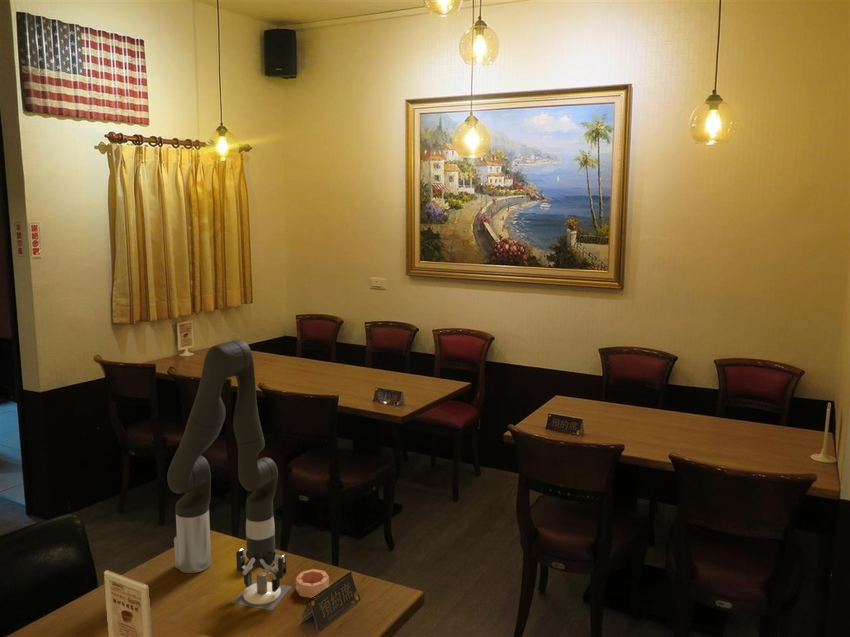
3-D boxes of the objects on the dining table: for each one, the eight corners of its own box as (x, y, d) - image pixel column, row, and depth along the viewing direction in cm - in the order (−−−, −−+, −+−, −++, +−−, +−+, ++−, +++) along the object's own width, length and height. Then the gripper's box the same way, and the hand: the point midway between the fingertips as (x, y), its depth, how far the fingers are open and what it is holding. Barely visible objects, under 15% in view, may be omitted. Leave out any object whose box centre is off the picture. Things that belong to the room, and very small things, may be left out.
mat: (231, 604, 186) (231, 602, 186) (253, 581, 197) (253, 579, 197) (271, 612, 183) (271, 610, 183) (292, 588, 194) (292, 586, 194)
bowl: (292, 596, 190) (291, 583, 189) (305, 580, 198) (305, 567, 197) (320, 601, 188) (320, 587, 187) (332, 585, 196) (332, 572, 195)
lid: (236, 601, 186) (235, 581, 185) (254, 582, 196) (254, 563, 195) (270, 607, 184) (269, 587, 183) (287, 587, 193) (286, 568, 192)
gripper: (229, 534, 185) (231, 591, 188) (278, 542, 181) (279, 599, 184) (243, 522, 192) (245, 577, 195) (290, 529, 188) (292, 584, 191)
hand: (262, 587), depth 189 cm, fingers open, 7 cm apart
